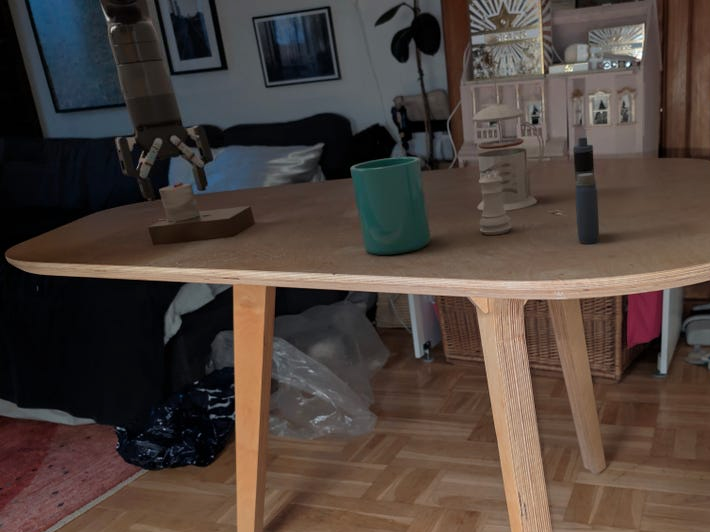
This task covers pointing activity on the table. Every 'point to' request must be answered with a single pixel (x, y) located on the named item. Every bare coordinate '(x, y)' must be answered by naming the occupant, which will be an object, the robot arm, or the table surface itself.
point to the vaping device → (586, 193)
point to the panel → (203, 226)
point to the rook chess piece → (493, 206)
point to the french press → (507, 153)
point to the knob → (179, 202)
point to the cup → (391, 205)
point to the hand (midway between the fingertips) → (177, 195)
